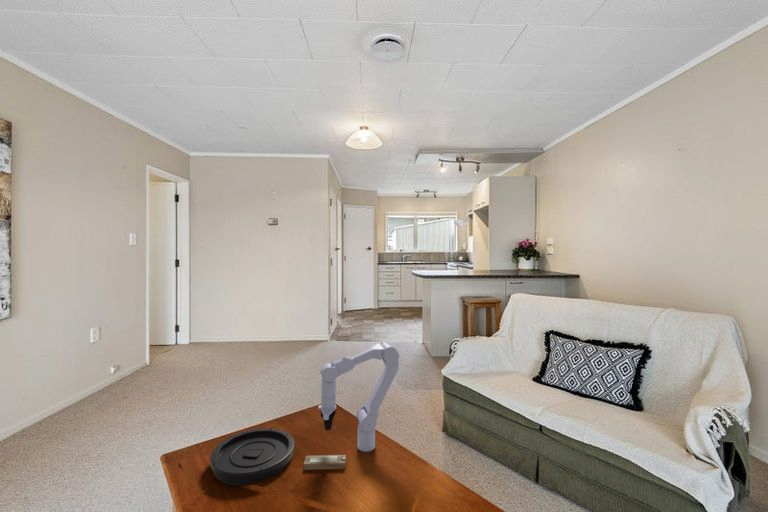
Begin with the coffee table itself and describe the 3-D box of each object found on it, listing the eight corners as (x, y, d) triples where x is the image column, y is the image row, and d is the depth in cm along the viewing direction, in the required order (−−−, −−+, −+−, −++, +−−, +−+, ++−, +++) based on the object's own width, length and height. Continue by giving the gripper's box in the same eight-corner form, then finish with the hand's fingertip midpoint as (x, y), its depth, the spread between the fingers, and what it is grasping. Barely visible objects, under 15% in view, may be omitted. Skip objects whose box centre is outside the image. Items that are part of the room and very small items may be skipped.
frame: (306, 461, 130) (306, 454, 130) (346, 460, 131) (346, 453, 131) (303, 469, 125) (303, 462, 125) (345, 468, 126) (345, 461, 126)
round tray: (275, 493, 115) (304, 443, 145) (275, 475, 115) (304, 429, 145) (191, 486, 118) (237, 439, 148) (191, 469, 118) (237, 425, 148)
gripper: (321, 388, 143) (321, 420, 143) (315, 403, 128) (314, 439, 129) (338, 388, 143) (338, 420, 143) (334, 403, 129) (333, 439, 129)
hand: (328, 429), depth 136 cm, fingers closed
